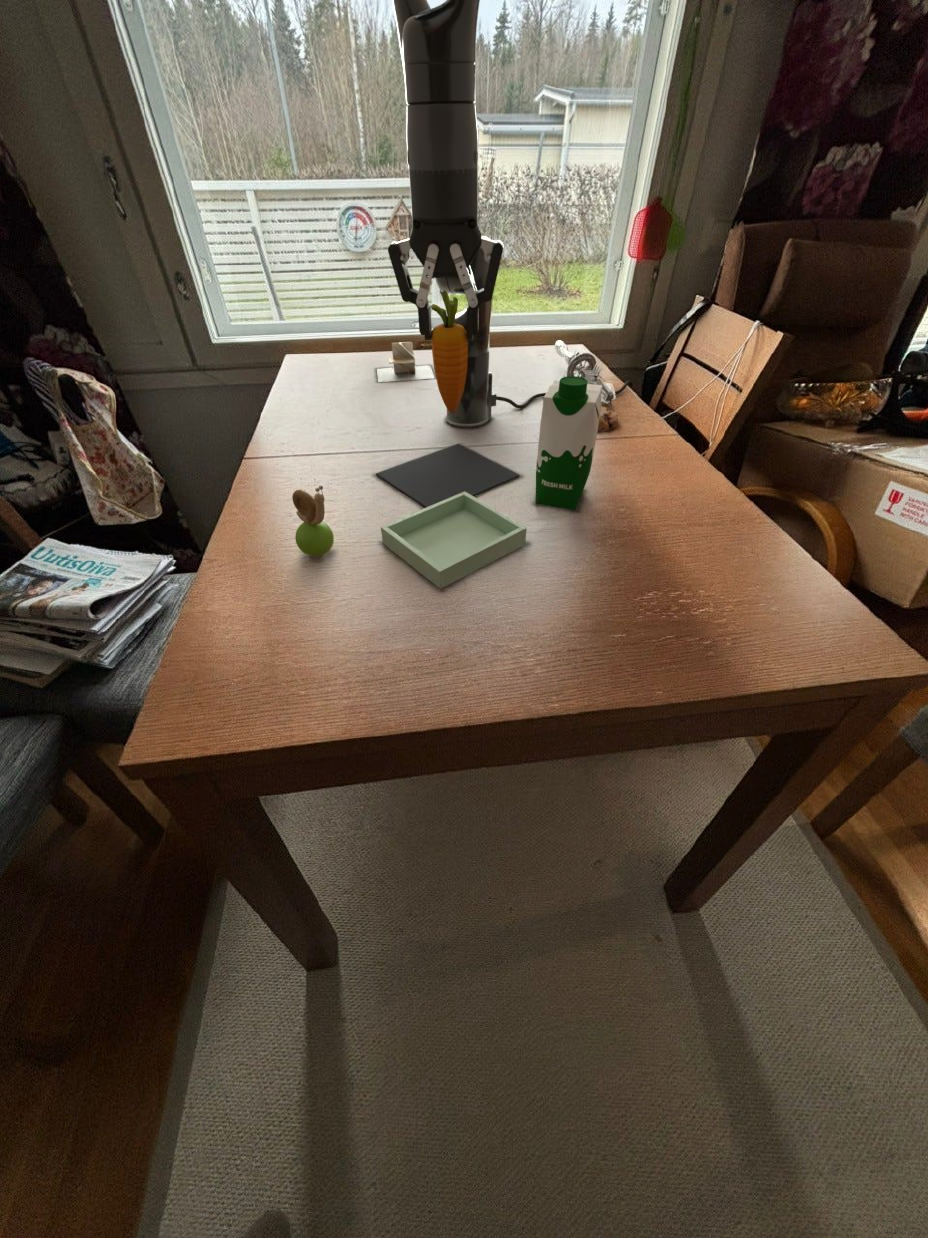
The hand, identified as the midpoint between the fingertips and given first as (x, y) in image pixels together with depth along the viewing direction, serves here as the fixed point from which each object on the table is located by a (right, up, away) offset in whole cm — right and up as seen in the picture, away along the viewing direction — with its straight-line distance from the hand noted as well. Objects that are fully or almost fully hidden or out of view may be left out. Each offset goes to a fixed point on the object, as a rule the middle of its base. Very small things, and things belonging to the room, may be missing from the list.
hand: (449, 337), depth 66 cm
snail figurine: (-20, -27, +10) cm, 35 cm away
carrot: (0, -7, +7) cm, 10 cm away
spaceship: (+31, +23, +63) cm, 74 cm away
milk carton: (+19, -16, +22) cm, 33 cm away
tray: (0, -25, +12) cm, 28 cm away
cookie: (+31, +6, +45) cm, 55 cm away
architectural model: (-14, +30, +71) cm, 79 cm away
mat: (-1, -10, +28) cm, 30 cm away
